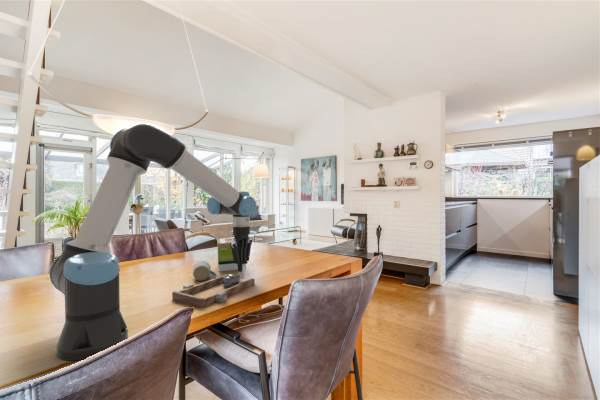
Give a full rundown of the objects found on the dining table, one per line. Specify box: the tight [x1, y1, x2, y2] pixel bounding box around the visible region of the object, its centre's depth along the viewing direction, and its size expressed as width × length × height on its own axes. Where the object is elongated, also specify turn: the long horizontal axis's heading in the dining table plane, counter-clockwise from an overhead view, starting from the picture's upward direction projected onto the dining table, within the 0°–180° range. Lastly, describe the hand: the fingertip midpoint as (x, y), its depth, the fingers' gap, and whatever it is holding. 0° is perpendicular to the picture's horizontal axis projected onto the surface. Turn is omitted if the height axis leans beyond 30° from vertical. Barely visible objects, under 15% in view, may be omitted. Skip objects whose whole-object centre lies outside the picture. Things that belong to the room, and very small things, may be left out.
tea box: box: [216, 237, 238, 272], centre depth 155 cm, size 15×10×15 cm, turn 17°
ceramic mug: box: [192, 260, 218, 282], centre depth 135 cm, size 11×8×8 cm
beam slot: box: [171, 273, 255, 309], centre depth 117 cm, size 29×20×3 cm
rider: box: [222, 273, 241, 289], centre depth 124 cm, size 7×7×5 cm
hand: (241, 278), depth 130 cm, fingers closed
